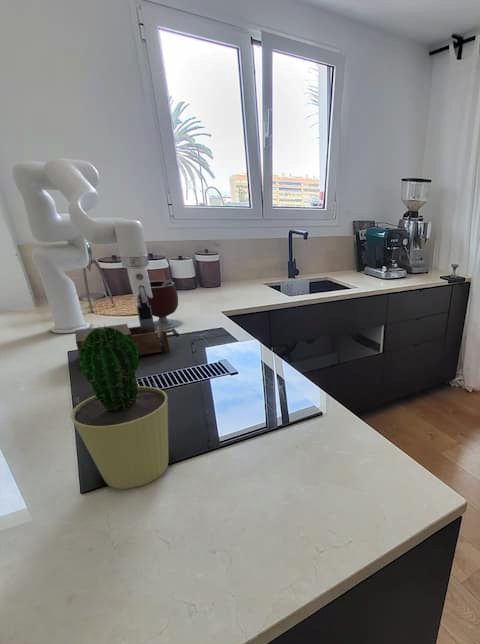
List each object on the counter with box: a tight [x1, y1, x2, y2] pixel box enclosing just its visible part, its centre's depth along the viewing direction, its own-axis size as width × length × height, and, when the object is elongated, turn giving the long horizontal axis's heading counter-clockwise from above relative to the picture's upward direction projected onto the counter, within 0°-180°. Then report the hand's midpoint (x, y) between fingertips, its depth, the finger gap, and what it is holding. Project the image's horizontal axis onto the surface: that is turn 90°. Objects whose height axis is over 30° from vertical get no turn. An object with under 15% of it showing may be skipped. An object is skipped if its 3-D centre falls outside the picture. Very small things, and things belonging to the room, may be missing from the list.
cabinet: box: [74, 323, 132, 356], centre depth 127 cm, size 15×13×9 cm
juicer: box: [82, 241, 115, 313], centre depth 177 cm, size 10×11×30 cm
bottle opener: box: [136, 303, 160, 342], centre depth 132 cm, size 5×6×14 cm
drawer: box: [128, 323, 180, 356], centre depth 134 cm, size 18×11×7 cm, turn 124°
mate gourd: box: [147, 278, 181, 331], centre depth 158 cm, size 16×14×20 cm
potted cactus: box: [70, 324, 170, 490], centre depth 72 cm, size 15×15×30 cm
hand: (145, 317), depth 131 cm, fingers closed on bottle opener
